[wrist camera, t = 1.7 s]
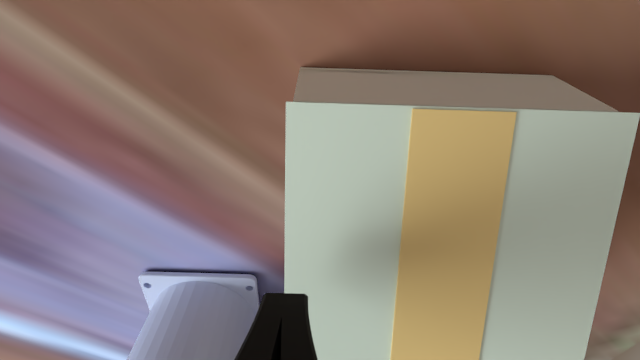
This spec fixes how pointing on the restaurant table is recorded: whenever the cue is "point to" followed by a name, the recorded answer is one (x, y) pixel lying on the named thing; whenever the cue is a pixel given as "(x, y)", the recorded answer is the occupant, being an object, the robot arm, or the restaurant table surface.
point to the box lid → (451, 227)
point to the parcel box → (442, 89)
